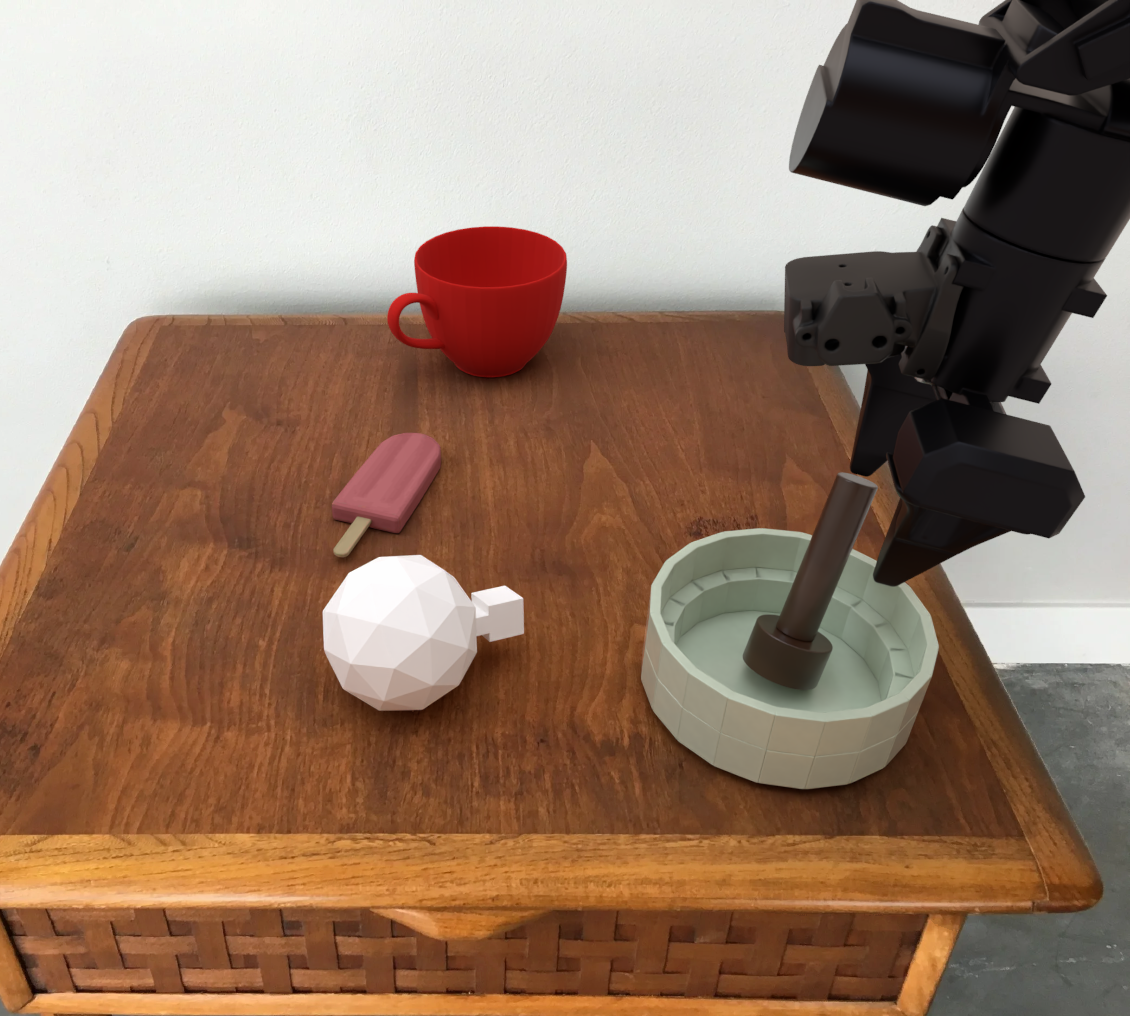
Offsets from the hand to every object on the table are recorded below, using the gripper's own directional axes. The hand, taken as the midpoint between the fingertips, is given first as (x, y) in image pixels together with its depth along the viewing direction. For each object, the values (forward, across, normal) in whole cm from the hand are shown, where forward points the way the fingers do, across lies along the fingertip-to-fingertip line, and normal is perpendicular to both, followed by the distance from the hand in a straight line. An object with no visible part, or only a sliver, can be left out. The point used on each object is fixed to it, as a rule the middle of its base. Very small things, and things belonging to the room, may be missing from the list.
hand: (870, 524), depth 51 cm
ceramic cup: (+17, -36, -24) cm, 46 cm away
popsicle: (+18, -15, -27) cm, 36 cm away
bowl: (+13, -1, 0) cm, 13 cm away
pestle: (+12, -1, 0) cm, 12 cm away
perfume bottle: (+18, +2, -20) cm, 26 cm away
